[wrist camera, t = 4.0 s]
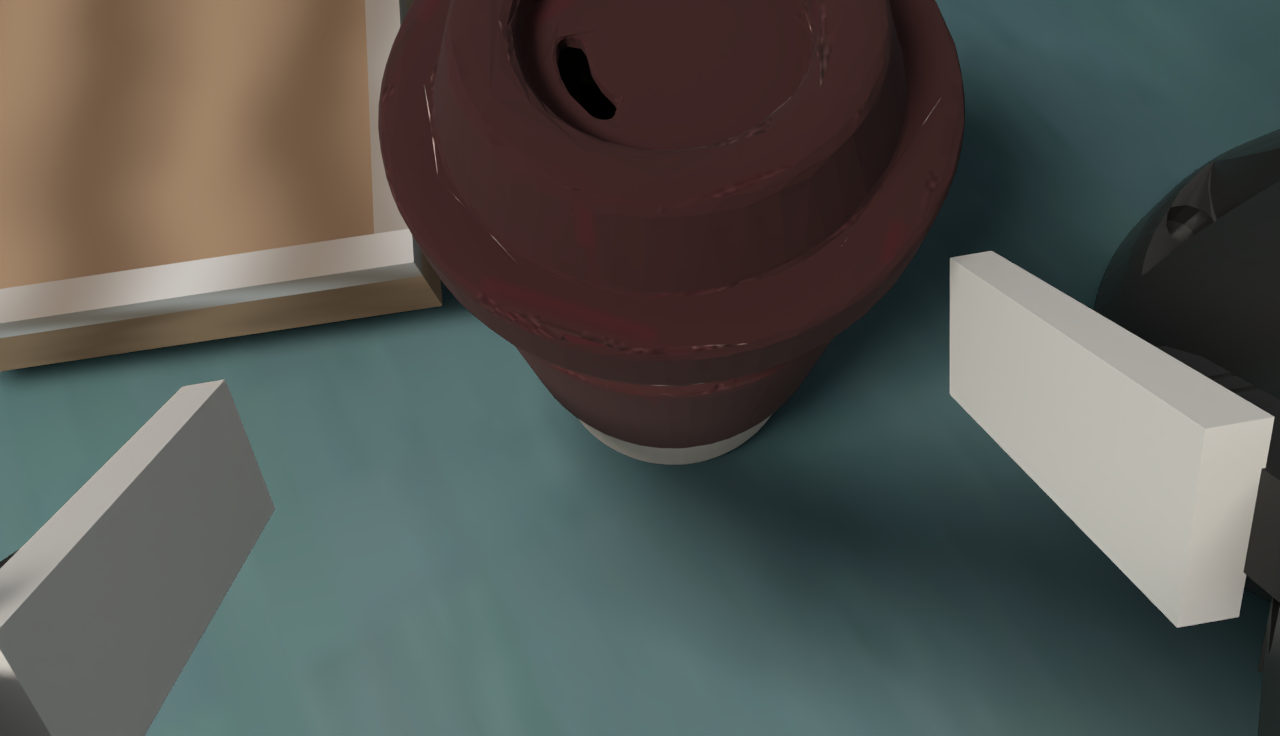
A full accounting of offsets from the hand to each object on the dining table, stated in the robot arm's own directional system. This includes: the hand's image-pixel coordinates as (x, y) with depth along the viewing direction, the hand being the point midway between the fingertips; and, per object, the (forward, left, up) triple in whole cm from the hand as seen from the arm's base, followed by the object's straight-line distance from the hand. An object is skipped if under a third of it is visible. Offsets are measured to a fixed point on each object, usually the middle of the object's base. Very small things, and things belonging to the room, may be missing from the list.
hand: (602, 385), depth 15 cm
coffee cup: (-2, -4, -11) cm, 12 cm away
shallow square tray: (+13, -14, -11) cm, 22 cm away
